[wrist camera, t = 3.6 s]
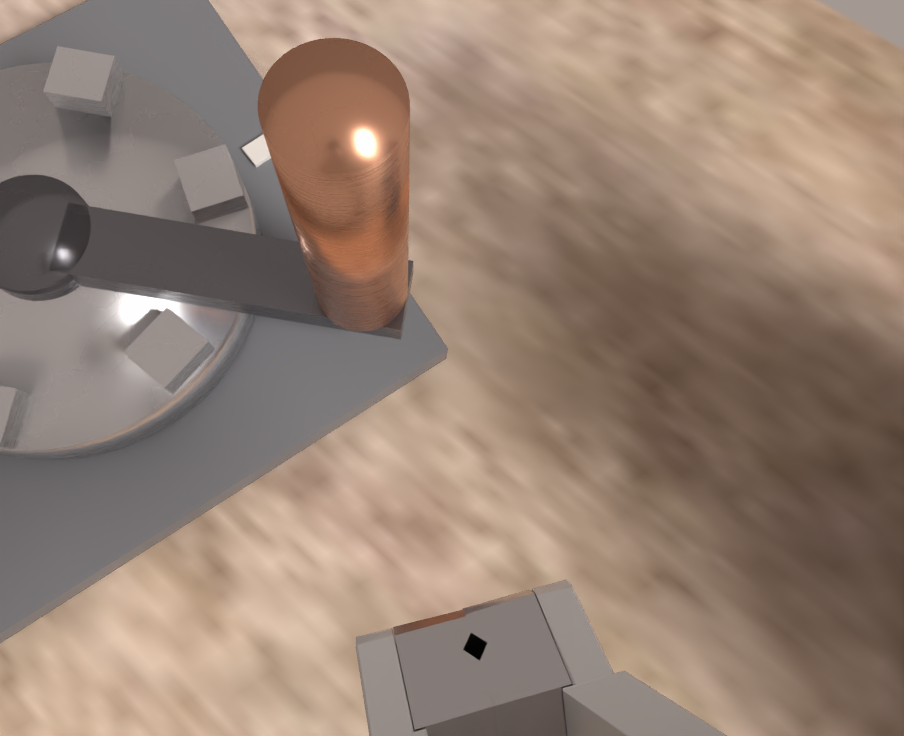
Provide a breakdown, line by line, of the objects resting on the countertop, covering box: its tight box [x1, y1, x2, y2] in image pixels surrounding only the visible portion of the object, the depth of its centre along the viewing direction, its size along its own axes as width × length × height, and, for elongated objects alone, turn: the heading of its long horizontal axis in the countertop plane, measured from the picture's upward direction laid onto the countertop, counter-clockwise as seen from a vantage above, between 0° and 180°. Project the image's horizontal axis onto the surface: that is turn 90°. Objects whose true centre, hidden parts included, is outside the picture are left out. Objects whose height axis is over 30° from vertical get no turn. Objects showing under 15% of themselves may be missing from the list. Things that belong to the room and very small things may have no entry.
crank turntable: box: [0, 38, 413, 460], centre depth 23 cm, size 20×14×15 cm
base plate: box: [0, 0, 448, 643], centre depth 31 cm, size 20×20×2 cm
